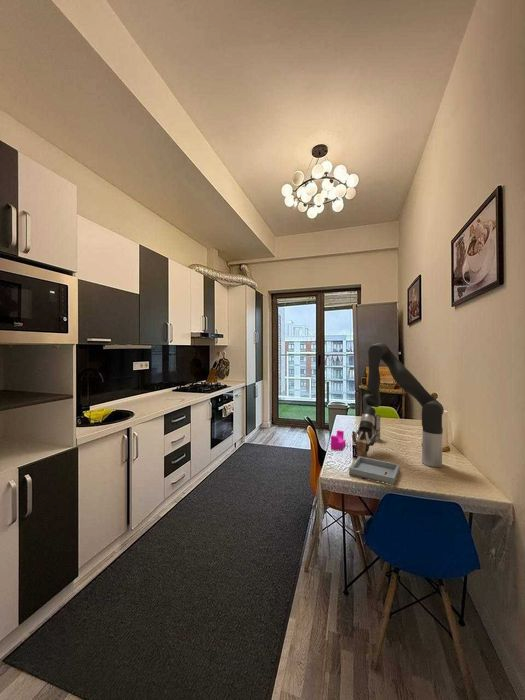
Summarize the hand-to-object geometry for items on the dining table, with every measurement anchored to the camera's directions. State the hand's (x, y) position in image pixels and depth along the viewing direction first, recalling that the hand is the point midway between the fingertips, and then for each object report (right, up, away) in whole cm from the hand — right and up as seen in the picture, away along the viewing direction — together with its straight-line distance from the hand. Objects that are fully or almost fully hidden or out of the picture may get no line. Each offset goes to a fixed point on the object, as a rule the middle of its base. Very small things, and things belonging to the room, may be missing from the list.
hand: (361, 450), depth 160 cm
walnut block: (+1, -4, +2) cm, 5 cm away
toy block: (-6, -5, +22) cm, 24 cm away
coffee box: (+19, -5, +36) cm, 41 cm away
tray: (+1, -5, -17) cm, 18 cm away
